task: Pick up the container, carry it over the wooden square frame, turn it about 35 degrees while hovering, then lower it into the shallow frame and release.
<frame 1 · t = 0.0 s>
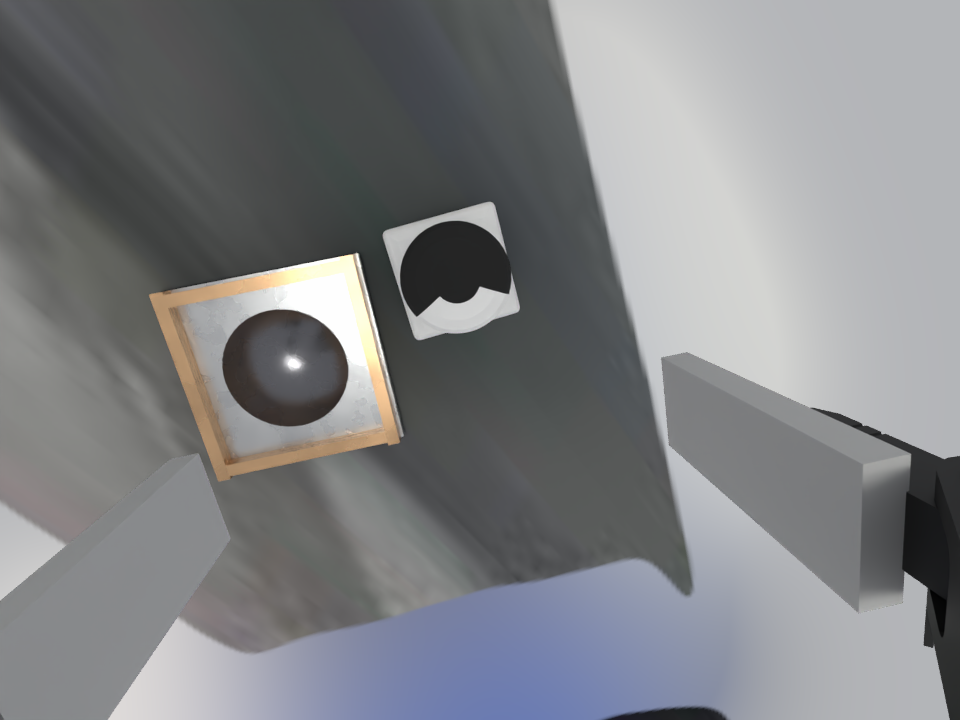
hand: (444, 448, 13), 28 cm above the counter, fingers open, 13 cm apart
container: (450, 266, 40), on the counter
wooden square frame: (290, 366, 40), on the counter
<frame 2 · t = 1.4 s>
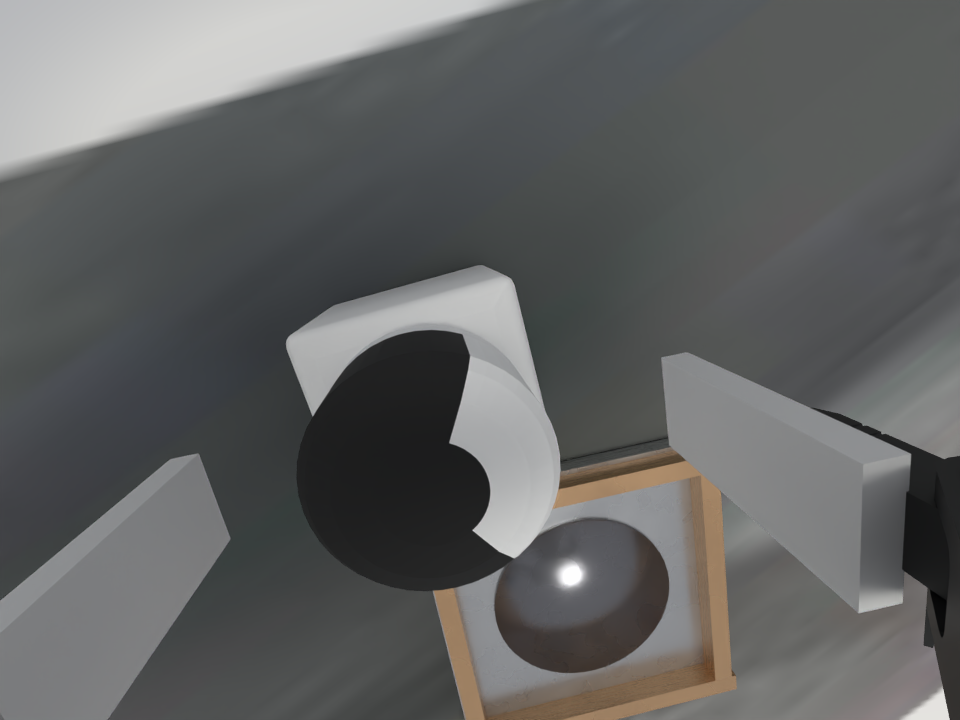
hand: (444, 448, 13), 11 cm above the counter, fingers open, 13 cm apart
container: (430, 359, 24), on the counter
wooden square frame: (577, 585, 28), on the counter
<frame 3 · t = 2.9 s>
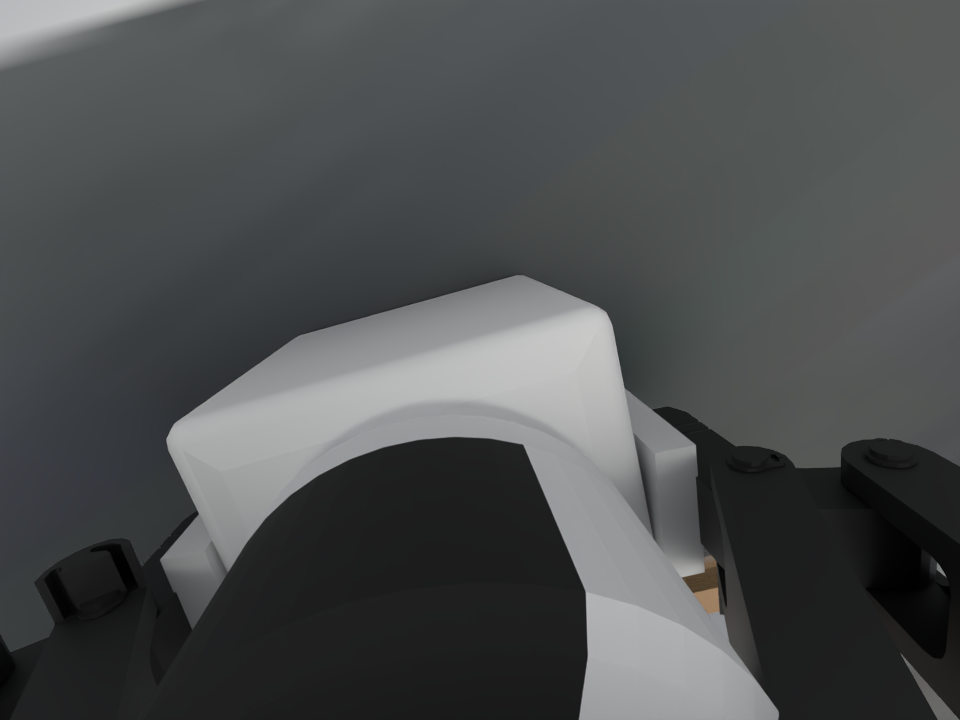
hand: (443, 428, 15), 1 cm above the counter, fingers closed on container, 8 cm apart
container: (442, 411, 16), on the counter, touching gripper
wooden square frame: (642, 714, 20), on the counter
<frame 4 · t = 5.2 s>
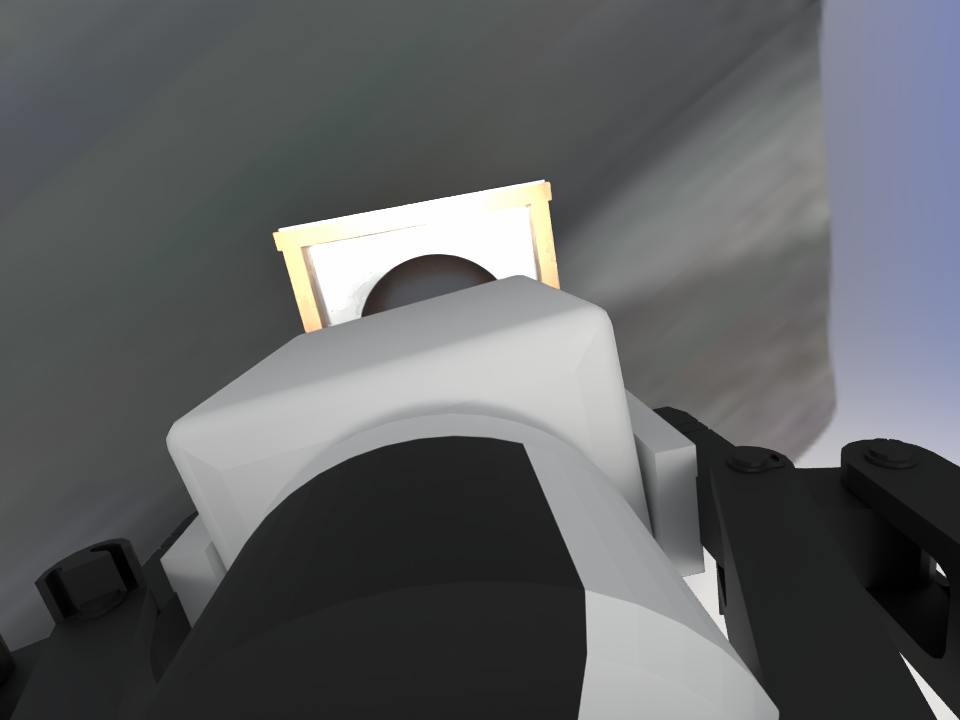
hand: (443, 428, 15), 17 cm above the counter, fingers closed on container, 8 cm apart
container: (442, 411, 16), point 16 cm above the counter, touching gripper
wooden square frame: (439, 331, 31), on the counter
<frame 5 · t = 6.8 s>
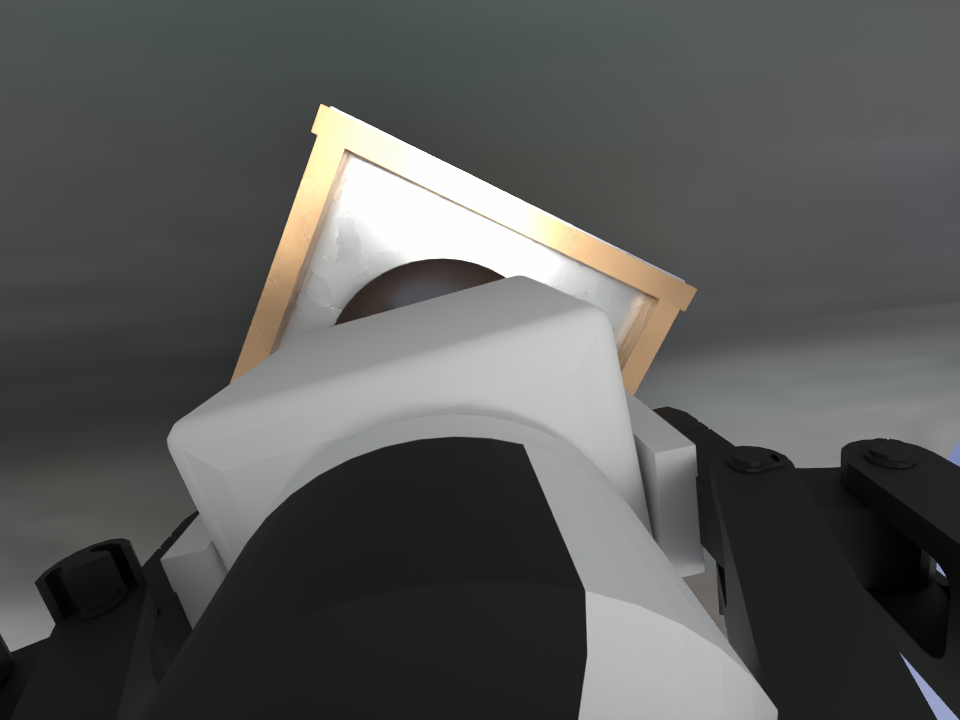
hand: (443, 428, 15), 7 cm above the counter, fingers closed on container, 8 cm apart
container: (442, 411, 16), point 6 cm above the counter, touching gripper
wooden square frame: (442, 369, 22), on the counter
when the fingers open (5 cm above the counter, at t = 8.0 s): container drops 2 cm, resting on wooden square frame.
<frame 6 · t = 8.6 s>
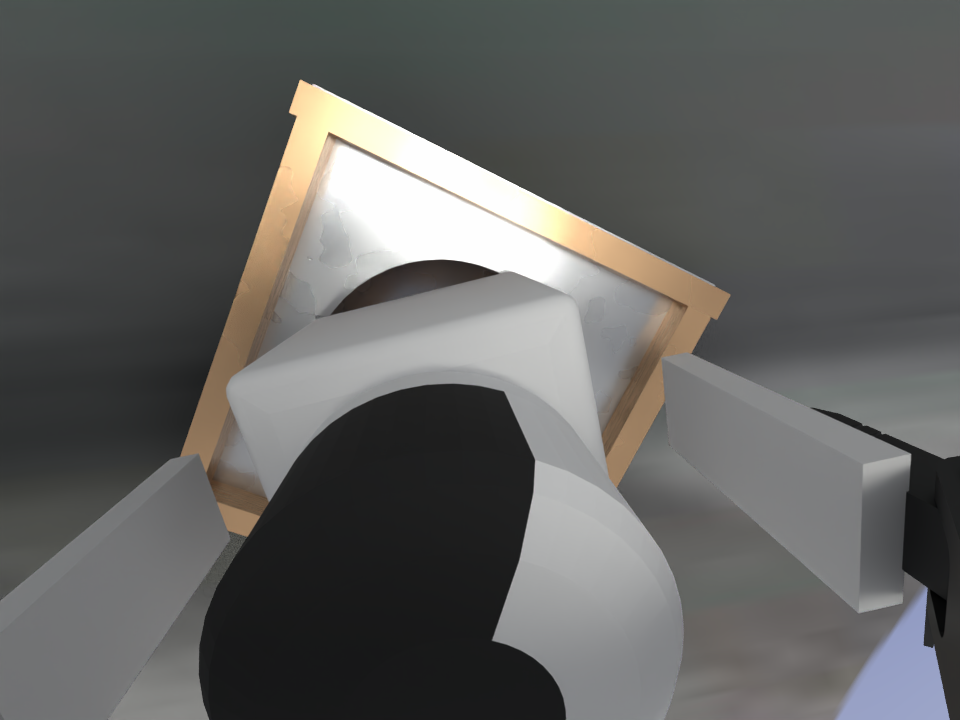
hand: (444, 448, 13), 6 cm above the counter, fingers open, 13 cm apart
container: (440, 390, 18), point 1 cm above the counter, touching wooden square frame
wooden square frame: (441, 383, 19), on the counter
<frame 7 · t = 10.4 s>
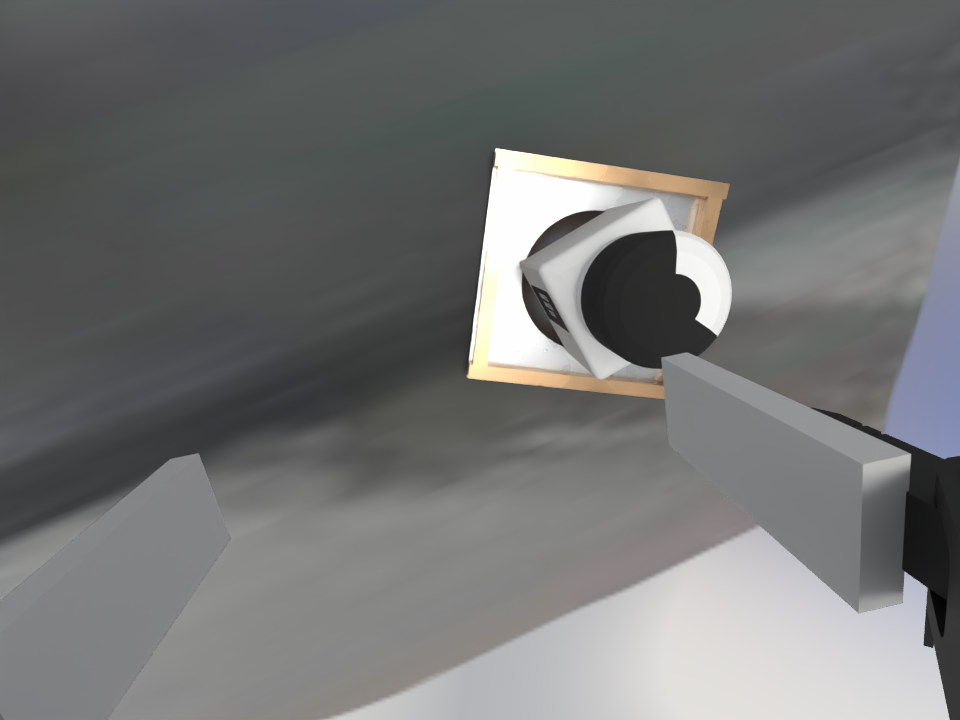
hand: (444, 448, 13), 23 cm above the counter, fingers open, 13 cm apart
container: (589, 282, 35), point 1 cm above the counter, touching wooden square frame
wooden square frame: (586, 281, 35), on the counter
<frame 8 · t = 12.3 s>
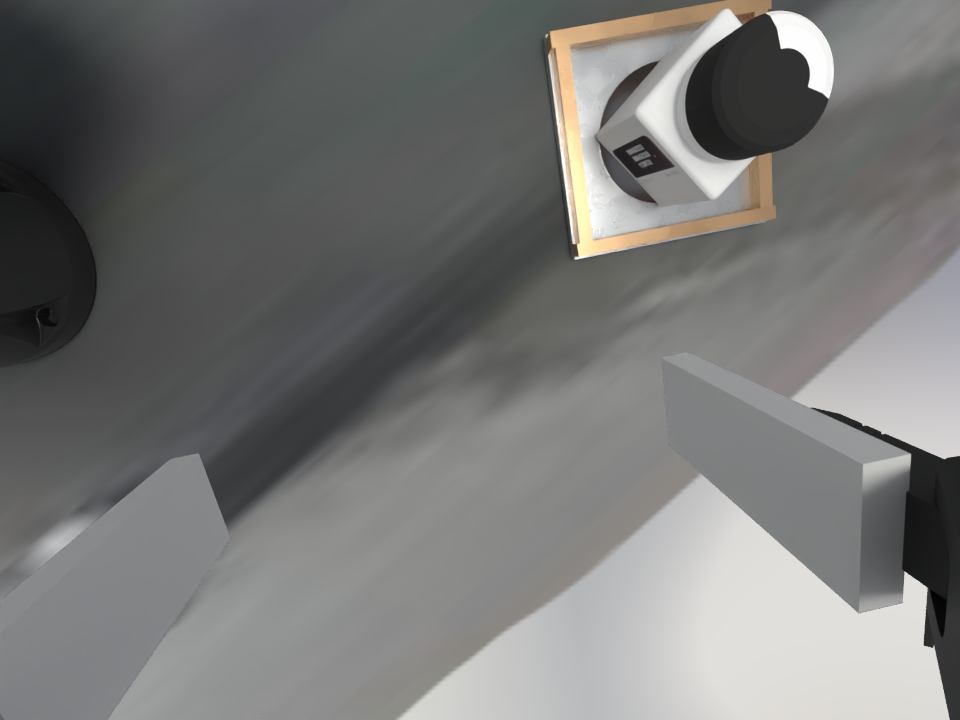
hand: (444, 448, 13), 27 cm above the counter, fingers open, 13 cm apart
container: (662, 134, 36), point 1 cm above the counter, touching wooden square frame
wooden square frame: (657, 137, 37), on the counter
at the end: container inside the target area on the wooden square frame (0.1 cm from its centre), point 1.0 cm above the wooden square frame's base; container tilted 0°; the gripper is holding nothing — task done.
